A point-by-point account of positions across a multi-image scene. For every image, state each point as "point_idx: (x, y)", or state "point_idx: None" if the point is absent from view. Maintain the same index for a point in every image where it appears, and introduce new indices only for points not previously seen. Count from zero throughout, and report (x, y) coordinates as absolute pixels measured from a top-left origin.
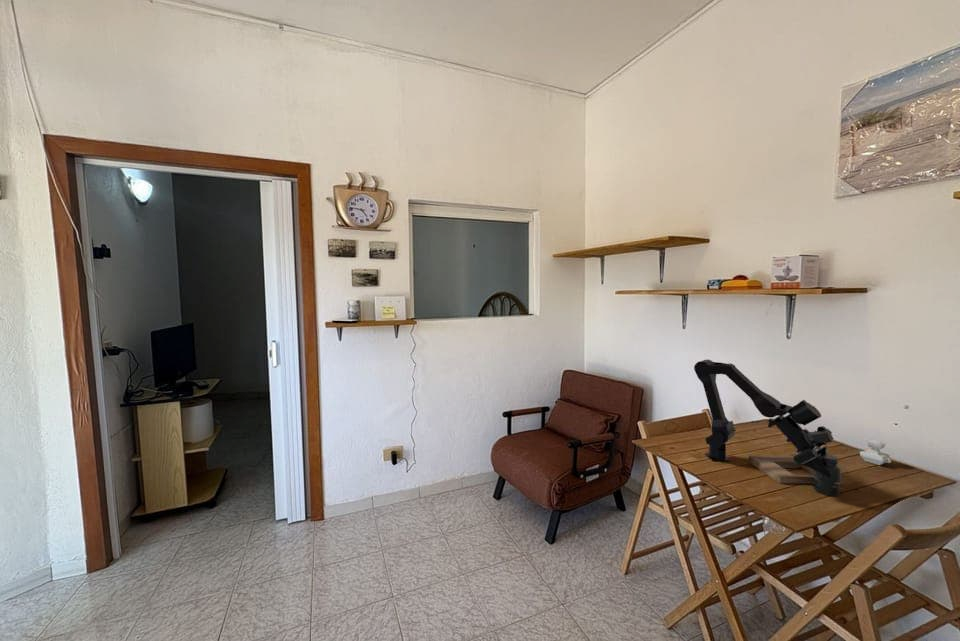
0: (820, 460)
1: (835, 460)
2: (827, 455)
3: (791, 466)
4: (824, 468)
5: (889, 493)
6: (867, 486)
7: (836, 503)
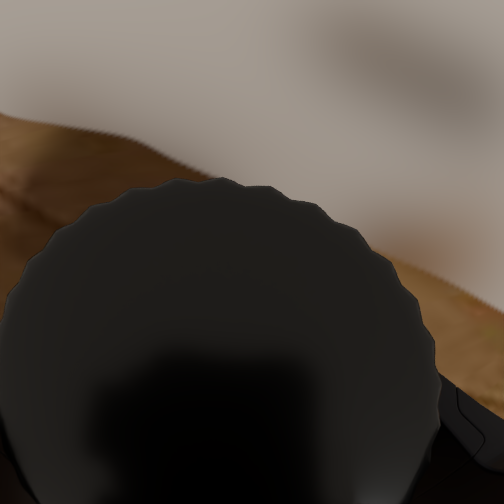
0: (488, 460)
1: (338, 232)
2: (89, 456)
3: None
4: (443, 381)
5: (57, 138)
6: (24, 199)
7: None
